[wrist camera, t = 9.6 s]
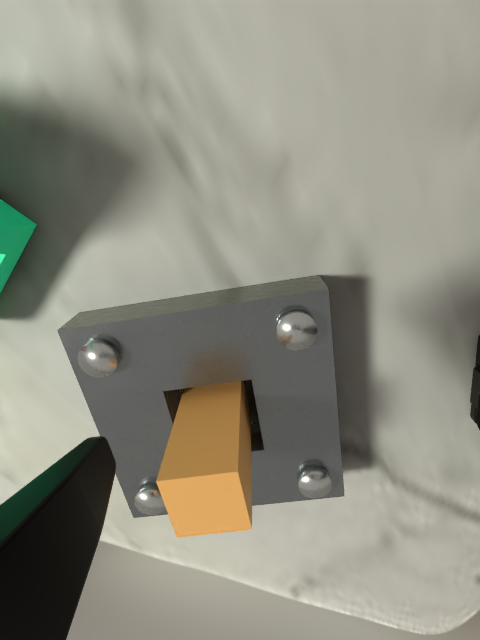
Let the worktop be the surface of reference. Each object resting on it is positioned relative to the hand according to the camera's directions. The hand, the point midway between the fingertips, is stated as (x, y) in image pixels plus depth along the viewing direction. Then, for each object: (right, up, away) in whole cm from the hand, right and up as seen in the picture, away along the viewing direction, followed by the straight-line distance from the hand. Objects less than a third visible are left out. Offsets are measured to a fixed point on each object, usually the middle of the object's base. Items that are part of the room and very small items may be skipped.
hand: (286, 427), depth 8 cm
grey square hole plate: (-2, -2, +14) cm, 14 cm away
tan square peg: (-2, -2, +14) cm, 14 cm away
